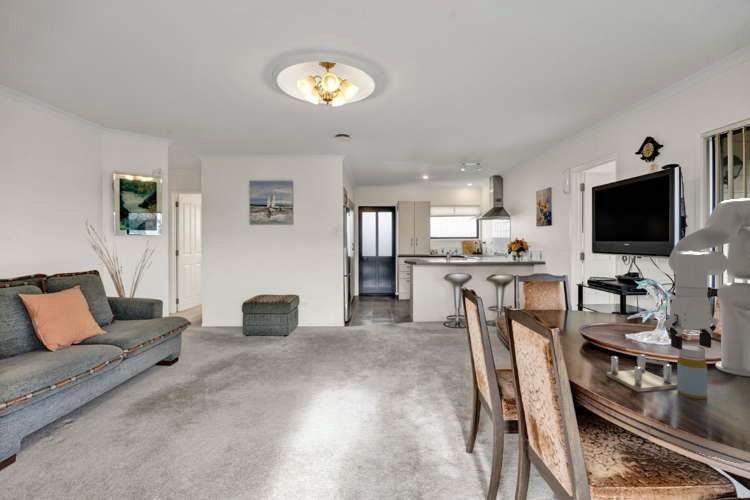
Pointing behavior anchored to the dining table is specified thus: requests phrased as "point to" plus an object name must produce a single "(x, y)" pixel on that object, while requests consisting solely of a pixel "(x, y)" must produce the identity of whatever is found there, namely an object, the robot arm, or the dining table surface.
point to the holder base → (648, 381)
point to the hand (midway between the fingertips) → (690, 347)
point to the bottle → (692, 372)
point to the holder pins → (641, 370)
